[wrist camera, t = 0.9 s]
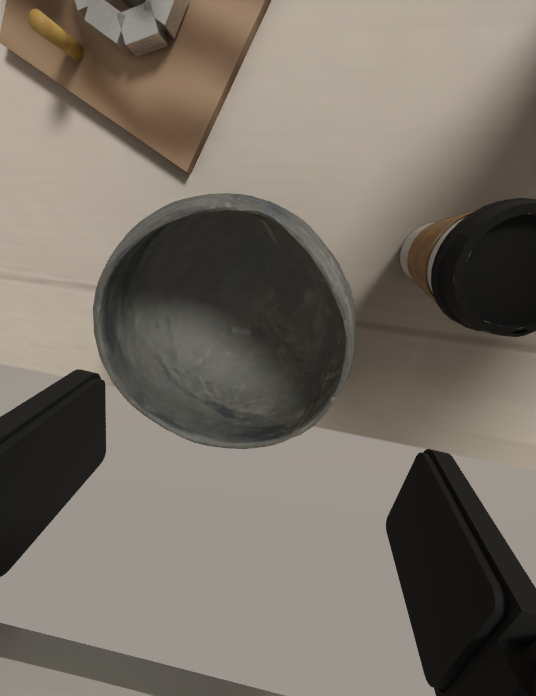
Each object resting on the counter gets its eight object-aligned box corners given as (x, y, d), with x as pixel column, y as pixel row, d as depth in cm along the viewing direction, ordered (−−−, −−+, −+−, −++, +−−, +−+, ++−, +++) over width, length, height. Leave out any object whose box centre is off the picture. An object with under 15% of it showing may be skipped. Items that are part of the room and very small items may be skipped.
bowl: (342, 379, 39) (363, 465, 25) (180, 384, 41) (117, 465, 28) (340, 191, 31) (368, 163, 17) (142, 214, 34) (30, 206, 20)
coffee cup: (391, 300, 34) (448, 351, 21) (383, 220, 32) (444, 216, 18) (473, 285, 33) (596, 328, 19) (473, 199, 30) (617, 176, 16)
